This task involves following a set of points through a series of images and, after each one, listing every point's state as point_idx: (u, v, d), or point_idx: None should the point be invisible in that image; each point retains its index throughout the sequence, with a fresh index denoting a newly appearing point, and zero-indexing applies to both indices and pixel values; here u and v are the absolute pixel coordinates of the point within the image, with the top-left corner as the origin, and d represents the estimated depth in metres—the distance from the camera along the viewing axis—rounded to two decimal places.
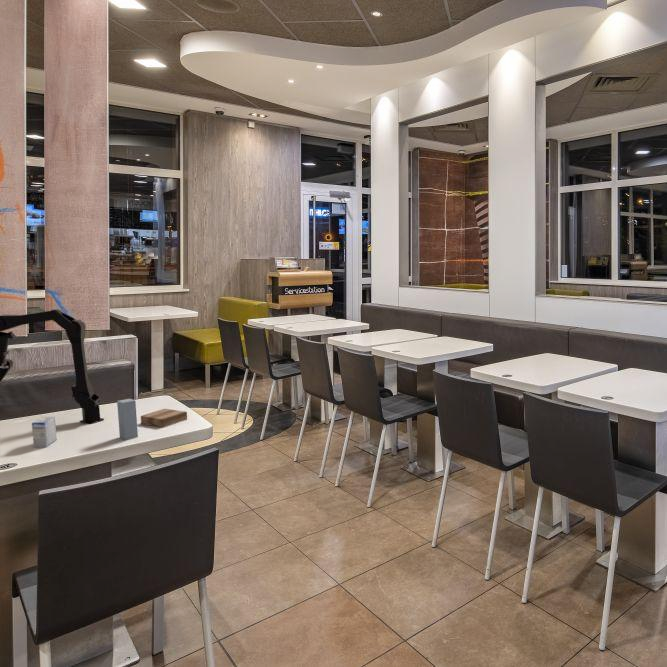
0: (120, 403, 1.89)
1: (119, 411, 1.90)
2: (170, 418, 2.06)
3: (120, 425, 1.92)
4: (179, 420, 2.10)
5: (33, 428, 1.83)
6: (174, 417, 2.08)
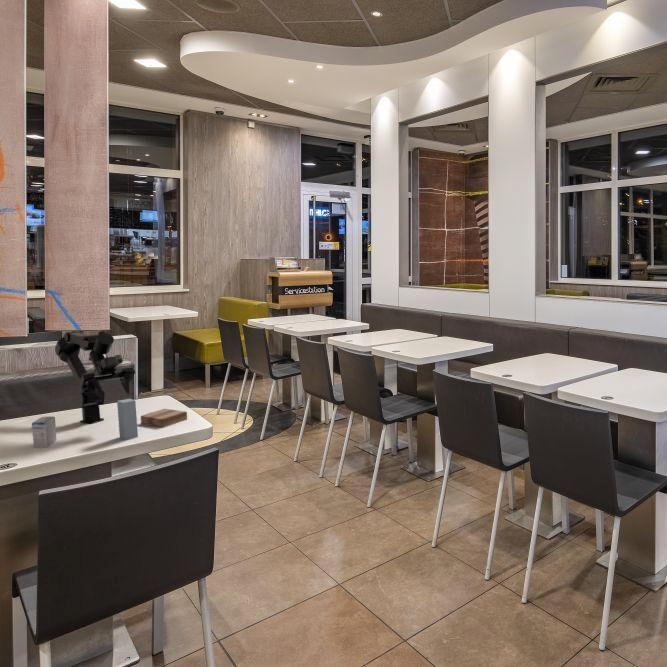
0: (120, 403, 1.89)
1: (119, 411, 1.90)
2: (170, 418, 2.06)
3: (120, 425, 1.92)
4: (179, 420, 2.10)
5: (33, 428, 1.83)
6: (174, 417, 2.08)
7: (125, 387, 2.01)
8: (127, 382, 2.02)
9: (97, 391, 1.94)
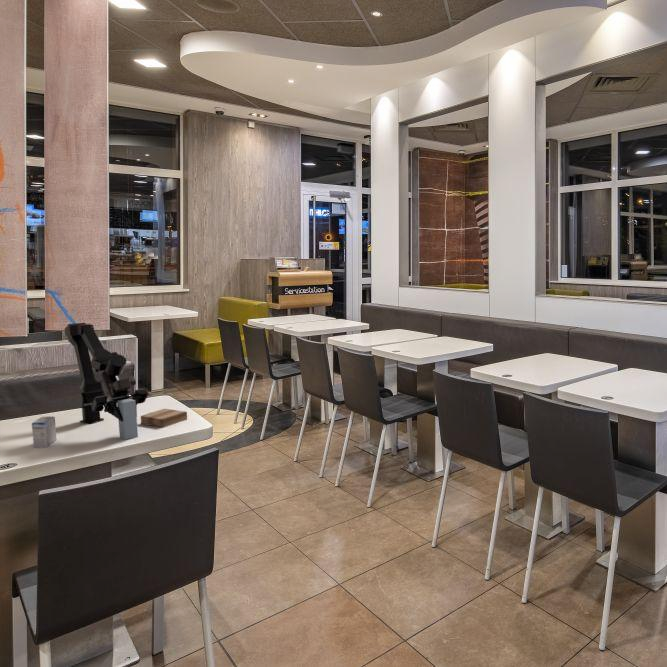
0: (120, 403, 1.89)
1: None
2: (170, 418, 2.06)
3: (120, 425, 1.91)
4: (179, 420, 2.10)
5: (33, 428, 1.83)
6: (174, 417, 2.08)
7: None
8: None
9: (116, 413, 1.90)
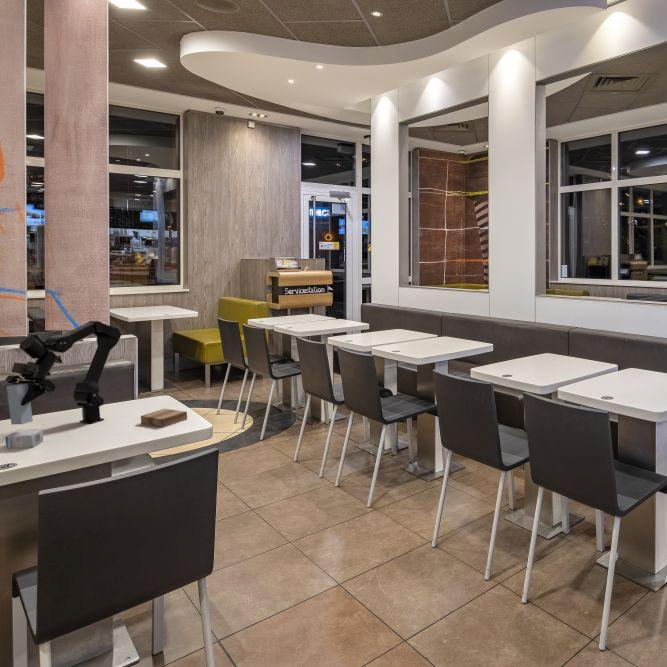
0: None
1: None
2: (170, 418, 2.06)
3: None
4: (179, 420, 2.10)
5: (12, 447, 1.83)
6: (174, 417, 2.08)
7: None
8: (27, 393, 1.85)
9: None
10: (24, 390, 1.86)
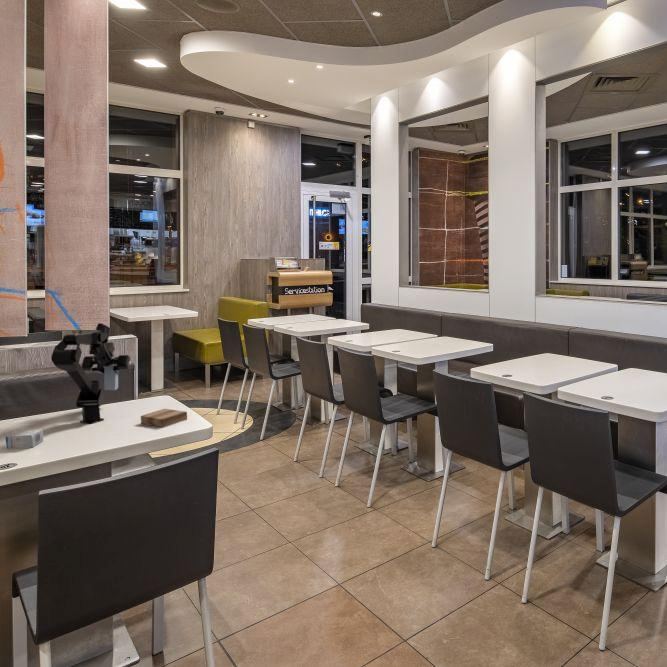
0: None
1: None
2: (170, 418, 2.06)
3: (115, 379, 2.37)
4: (179, 420, 2.10)
5: (12, 447, 1.83)
6: (174, 417, 2.08)
7: (103, 370, 2.36)
8: None
9: None
10: None
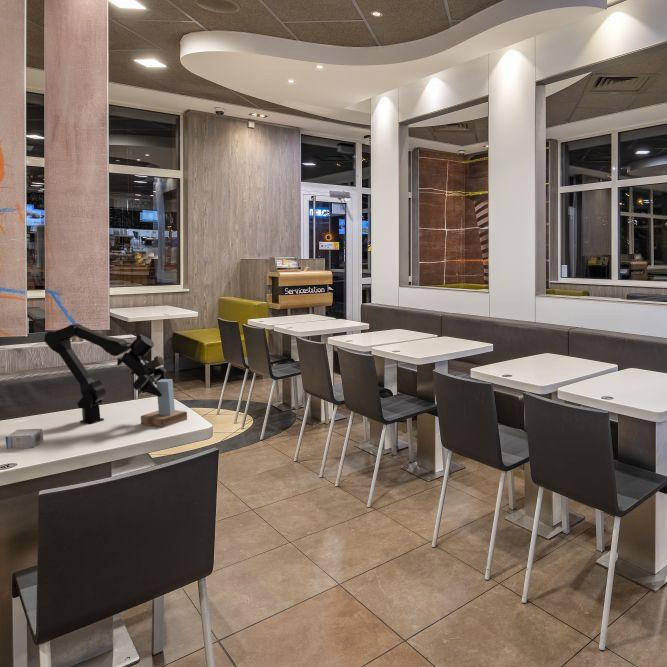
0: (163, 383, 2.08)
1: (161, 391, 2.08)
2: (170, 418, 2.06)
3: (160, 403, 2.09)
4: (179, 420, 2.10)
5: (12, 447, 1.83)
6: (174, 417, 2.08)
7: None
8: None
9: (154, 390, 2.05)
10: None
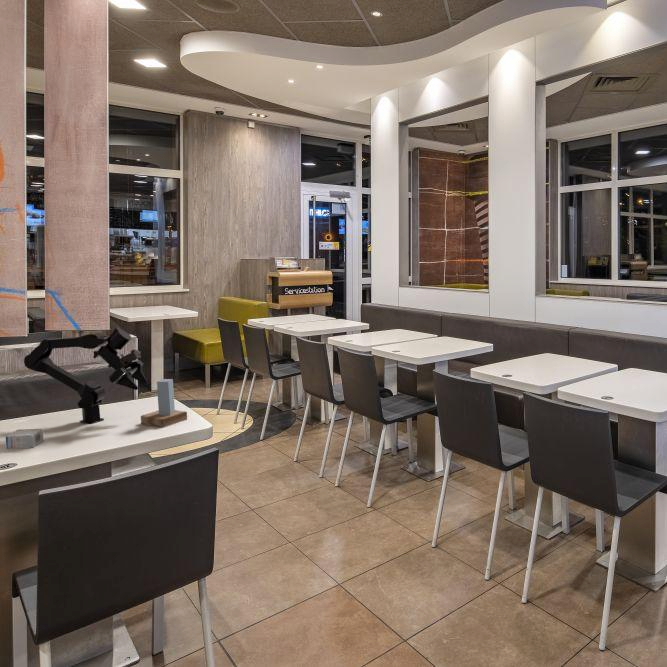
0: (163, 382, 2.08)
1: (161, 391, 2.08)
2: (170, 418, 2.06)
3: (160, 403, 2.09)
4: (179, 420, 2.10)
5: (12, 447, 1.83)
6: (174, 417, 2.08)
7: (141, 378, 2.17)
8: (142, 374, 2.17)
9: (131, 383, 2.07)
10: None
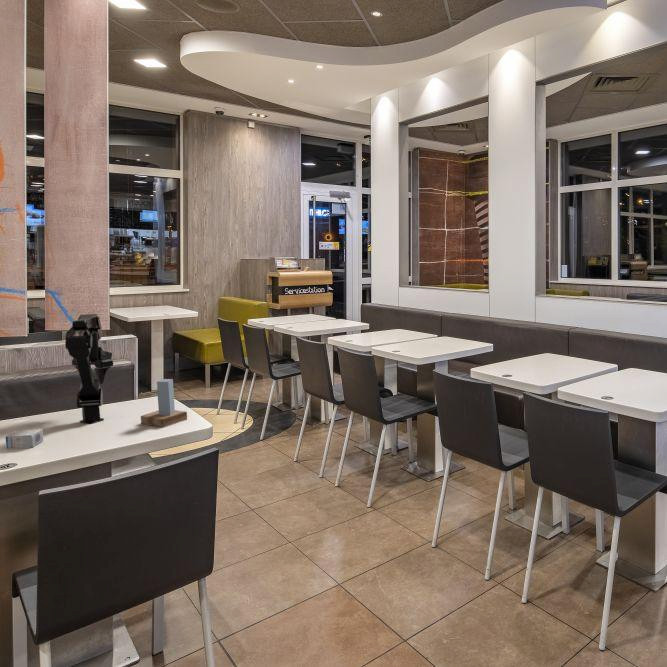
0: (163, 382, 2.08)
1: (161, 391, 2.08)
2: (170, 418, 2.06)
3: (160, 403, 2.09)
4: (179, 420, 2.10)
5: (12, 447, 1.83)
6: (174, 417, 2.08)
7: None
8: None
9: (103, 376, 2.22)
10: None
